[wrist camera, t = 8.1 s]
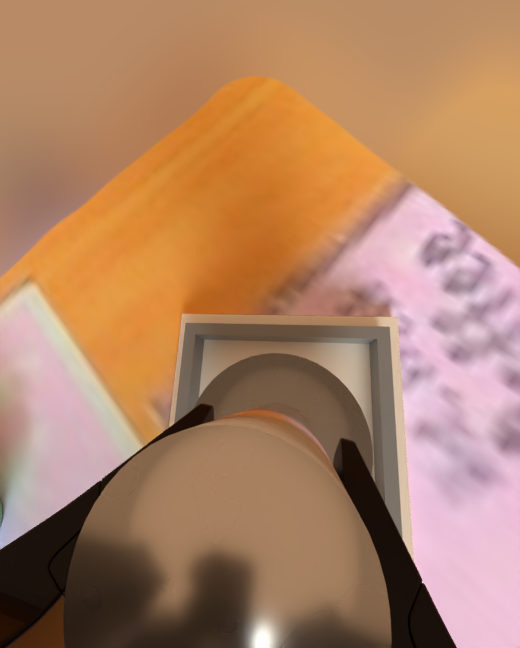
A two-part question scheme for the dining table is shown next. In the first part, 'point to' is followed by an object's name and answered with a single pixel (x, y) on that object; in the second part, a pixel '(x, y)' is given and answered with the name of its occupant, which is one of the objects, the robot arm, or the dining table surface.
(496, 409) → the dining table surface
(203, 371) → the board
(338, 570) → the flared base peg
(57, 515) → the robot arm
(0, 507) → the cupcake
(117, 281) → the dining table surface
